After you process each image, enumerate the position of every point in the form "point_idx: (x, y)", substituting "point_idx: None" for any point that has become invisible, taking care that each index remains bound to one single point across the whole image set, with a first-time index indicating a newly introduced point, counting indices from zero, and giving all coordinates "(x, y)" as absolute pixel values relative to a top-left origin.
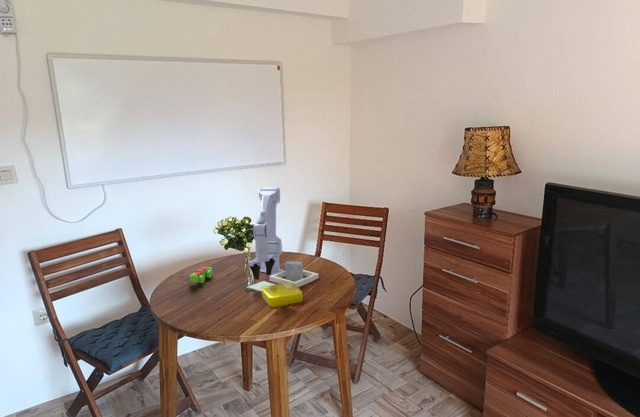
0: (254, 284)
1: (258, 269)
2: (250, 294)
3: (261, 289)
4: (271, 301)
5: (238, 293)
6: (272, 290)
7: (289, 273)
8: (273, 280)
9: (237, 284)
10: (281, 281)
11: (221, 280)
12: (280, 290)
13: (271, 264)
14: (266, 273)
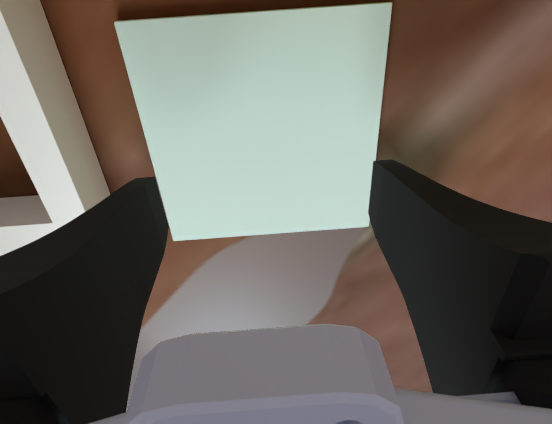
0: (291, 229)
1: (514, 228)
2: (499, 70)
3: (347, 75)
4: None
5: (519, 177)
6: None
7: None
8: (93, 173)
9: (359, 314)
10: (31, 42)
11: None
12: None
13: (50, 270)
14: (165, 241)
